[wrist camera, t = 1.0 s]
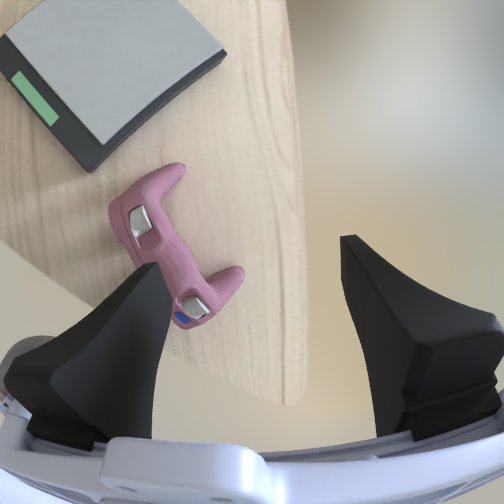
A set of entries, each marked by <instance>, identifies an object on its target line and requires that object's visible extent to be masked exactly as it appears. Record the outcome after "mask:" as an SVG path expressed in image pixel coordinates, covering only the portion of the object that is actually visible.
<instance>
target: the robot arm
mask: <svg viewBox="0 0 504 504" xmlns="http://www.w3.org/2000/svg"><path fill="white" fill-rule="evenodd" d="M340 249H341V281H342V285H343V290H344V294H345V299H346V302H347V305H348V308H349V311H350V314H351V317H352V319H353V322H354V325H355V328H356V331H357V334H358V337H359V340H360V343H361V346H362V349H363V353H364V357H365V362H366V367H367V372H368V377H369V383H370V389H371V395H372V402H373V409H374V416H375V424H376V434H377V438H374V439H369V440H364V441H358V442H353V443H347V444H341V445H334V446H327V447H320V448H311V449H302V450H293V451H279V452H264V453H256V452H254V451H253V450H252V449H250V448H246V447H242V446H238V445H234V444H225V443H213V442H182V441H164V440H152V436H151V434H152V433H151V431H152V408H153V397H154V388H155V380H156V374H157V369H158V364H159V361H160V357H161V353H162V350H163V346H164V343H165V339H166V335H167V332H168V328H169V324H170V320H171V314H172V306H173V298H172V296H171V293H170V291H169V289H168V286H167V284H166V281H165V279H164V277H163V274H162V272H161V269H160V267H159V264H158V262H151V263H144V264H143V265H142V266H140V267H139V268H138V269H137V270H136V271H135V272H134V273H132V274H131V275H130V276H129V277H128V278H127V279H126V280H125V281H124V282H123V283H122V284H121V285H120V286H119V287H118V288H117V289H116V290H115V291H114V292H113V293H112V294H111V295H110V296H108V297H107V298H106V299H105V300H104V301H103V302H102V303H101V304H100V305H99V306H98V307H96V308H95V309H94V310H93V311H92V312H91V313H89V314H88V315H87V316H86V317H84V318H83V319H82V320H81V321H79V322H78V323H77V324H75V325H74V326H72V327H71V328H69V329H68V330H66V331H65V332H63V333H62V334H60V335H59V336H57V337H56V338H54V339H52V340H51V341H49V342H47V343H45V344H43V345H42V346H40V347H38V348H36V349H34V350H31V351H29V352H27V353H25V354H23V355H20V356H18V357H16V358H15V359H14V360H13V362H12V364H11V366H10V368H9V369H8V371H7V373H6V375H5V377H4V380H3V381H4V384H5V387H6V389H7V390H8V393H7V395H6V396H5V397H4V399H3V400H2V402H1V403H0V412H1V413H2V414H4V415H5V419H4V421H3V423H2V426H1V428H0V504H441V503H444V502H446V501H449V500H451V499H454V498H456V497H458V496H461V495H463V494H466V493H468V492H470V491H472V490H475V489H477V488H479V487H481V486H483V485H485V484H487V483H490V482H492V481H494V480H496V479H498V478H500V477H502V476H504V389H503V390H501V391H500V392H499V393H497V390H496V388H495V385H496V384H497V378H496V376H495V374H494V371H495V370H496V368H497V366H498V364H499V363H500V361H501V359H502V357H503V356H504V329H503V327H502V326H501V324H500V322H499V321H498V320H497V318H496V316H495V315H494V314H492V313H489V312H485V311H482V310H479V309H475V308H472V307H469V306H466V305H464V304H461V303H458V302H455V301H453V300H451V299H448V298H446V297H444V296H442V295H440V294H438V293H436V292H434V291H432V290H430V289H428V288H426V287H424V286H423V285H421V284H419V283H418V282H416V281H414V280H413V279H411V278H410V277H408V276H406V275H405V274H404V273H402V272H401V271H399V270H398V269H397V268H395V267H394V266H393V265H391V264H390V263H389V262H387V261H386V260H385V259H384V258H382V257H381V256H380V255H379V254H378V253H376V252H375V251H374V250H373V249H372V248H371V247H369V246H368V245H367V244H366V243H365V242H364V241H363V240H362V239H360V238H359V237H358V236H357V235H348V236H341V237H340ZM5 403H6V404H8V405H6V404H5Z"/></svg>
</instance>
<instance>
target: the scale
mask: <svg viewBox="0 0 504 504" xmlns="http://www.w3.org/2000/svg"><path fill="white" fill-rule="evenodd" d="M226 55H227V53H226V52H225V50H224V49H223V46H222V45H221V44H220V43H219V42H218V41H217V40H216V39H215V38H214V36H213V35H212V34H211V33H210V32H209V31H208V30H207V29H206V28H205V27H204V26H203V25H202V24H201V23H200V22H199V21H198V20H197V19H196V18H195V17H194V16H193V15H192V14H191V13H190V12H189V11H188V10H187V9H186V8H185V7H184V6H183V5H182V4H181V3H180V2H179V1H177V0H43V1H42V2H41V3H39V4H38V5H37V6H36V7H34V8H33V9H32V10H31V11H30V12H28V13H27V14H26V15H25V16H24V17H22V18H21V19H20V20H19V21H18V22H17V23H15V24H14V25H13V26H12V27H11V28H10V29H9V30H8V31H7V32H6V33H4V34H3V35H2V36H1V37H0V71H1V72H2V73H3V75H4V76H5V77H6V78H7V80H8V81H9V82H10V83H11V85H12V86H13V87H14V88H15V90H16V91H17V92H18V93H19V94H20V96H21V97H22V98H23V99H24V101H25V102H26V103H27V104H28V105H29V107H30V108H31V109H32V110H33V111H34V112H35V114H36V115H37V116H38V117H39V118H40V120H41V121H42V122H43V123H44V124H45V125H46V126H47V128H48V129H49V130H50V131H51V132H52V133H53V135H54V136H55V137H56V138H57V139H58V140H59V141H60V142H61V144H62V145H63V146H64V147H65V148H66V149H67V150H68V151H69V153H70V154H71V155H72V156H73V157H74V158H75V159H76V160H77V161H78V162H79V164H80V165H81V166H82V167H83V168H84V169H85V170H86V171H87V172H90V173H93V171H94V170H95V169H96V168H97V167H98V166H99V165H100V164H101V163H102V162H103V161H104V160H105V159H106V158H107V157H108V156H109V155H110V154H111V153H112V152H113V151H114V150H116V149H117V148H118V147H119V146H120V145H121V144H122V143H123V142H124V141H125V140H126V139H127V138H128V137H129V136H130V135H131V134H133V133H134V132H135V131H136V130H137V129H138V128H139V127H140V126H141V125H143V124H144V123H145V122H146V121H147V120H148V119H149V118H151V117H152V116H153V115H154V114H155V113H156V112H158V111H159V110H160V109H161V108H162V107H164V106H165V105H166V104H167V103H168V102H170V101H171V100H172V99H173V98H175V97H176V96H177V95H178V94H180V93H181V92H182V91H183V90H185V89H186V88H187V87H189V86H190V85H191V84H192V83H194V82H195V81H196V80H198V79H199V78H200V77H202V76H203V75H205V74H206V73H207V72H209V71H210V70H211V69H213V68H214V67H216V66H217V65H218V64H220V63H221V61H222V60H223V59H224V58H225V56H226Z"/></svg>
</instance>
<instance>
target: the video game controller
mask: <svg viewBox="0 0 504 504" xmlns="http://www.w3.org/2000/svg"><path fill="white" fill-rule="evenodd" d="M185 169H186V166H185V165H184V164H182V163H173V164H169V165H166V166H164V167H162V168H159V169H157V170H155V171H153V172H151V173H149V174H147V175H145V176H144V177H142V178H141V179H140V180H138V181H137V182H136V183H135V184H133V185H132V186H131V187H130V188H129V189H127V190H126V191H125V192H124V193H123V194H122V195H120V196H119V197H117V198H116V199H115V200H113V201H112V202H111V203H110V205H109V218H110V223H111V226H112V228H113V231H114V233H115V234H116V236H117V237H118V239H119V240H120V241H121V242H122V243H123V244H124V245H125V247H126V249H127V251H128V253H129V255H130V257H131V259H132V261H133V263H134V265H135V266H136V268H137V269H138V268H139V267H140V266H142V265H143V264H144V263H151V262H158V264H159V267H160V269H161V272H162V274H163V277H164V279H165V281H166V284H167V286H168V289H169V291H170V293H171V296H172V298H173V306H172V314H171V319H172V320H173V322H174V323H175V324H176V325H177V326H179V327H180V328H182V329H185V330H187V329H190V328H193V327H196V326H199V325H201V324H204V323H205V322H206V321H208V320H209V319H211V318H213V317H214V316H215V315H216V314H217V313H218V312H219V311H220V310H221V309H222V307H223V306H224V305H225V304H226V303H227V301H228V300H229V299H230V298H231V296H232V295H233V294H234V293H235V291H236V290H237V289H238V288H239V286H240V285H241V283H242V282H243V279H244V276H245V271H244V269H243V268H242V267H241V266H233V267H230V268H227V269H224V270H222V271H220V272H218V273H216V274H215V275H214V276H212V277H211V278H209V279H208V280H207V281H205V280H204V278H203V277H202V275H201V274H200V272H199V270H198V267H197V263H196V261H195V258H194V256H193V254H192V252H191V250H190V249H189V247H188V246H187V245H186V244H185V242H184V241H183V240H182V239H181V238H180V237H179V236H178V235H177V234H176V233H175V232H174V230H173V226H172V224H171V222H170V220H169V218H168V217H167V215H166V214H165V213H164V212H163V210H162V208H161V206H160V200H161V198H162V197H163V196H164V194H165V193H166V192H167V191H168V190H169V189H170V188H171V187H172V186H174V185H175V184H176V183H177V182H178V181H179V180H180V179H181V178H182V176H183V175H184V173H185Z"/></svg>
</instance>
